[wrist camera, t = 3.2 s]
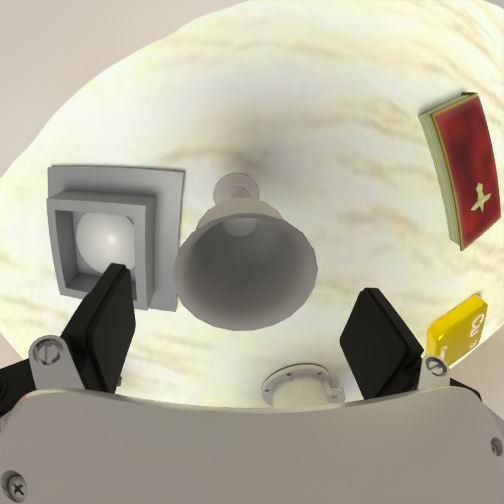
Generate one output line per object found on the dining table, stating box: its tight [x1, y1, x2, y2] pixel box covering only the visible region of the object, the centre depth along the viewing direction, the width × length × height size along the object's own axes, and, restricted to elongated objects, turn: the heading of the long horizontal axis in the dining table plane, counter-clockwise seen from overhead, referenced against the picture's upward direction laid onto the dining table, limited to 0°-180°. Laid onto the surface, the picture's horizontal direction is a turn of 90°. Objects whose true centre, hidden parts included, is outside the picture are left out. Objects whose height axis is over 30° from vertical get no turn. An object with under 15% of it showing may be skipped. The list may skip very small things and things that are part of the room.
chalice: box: [172, 173, 318, 331], centre depth 22 cm, size 7×7×18 cm
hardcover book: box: [418, 92, 501, 251], centre depth 28 cm, size 12×21×4 cm, turn 30°
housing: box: [46, 166, 185, 312], centre depth 28 cm, size 18×18×5 cm
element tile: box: [426, 294, 488, 366], centre depth 43 cm, size 15×15×5 cm
